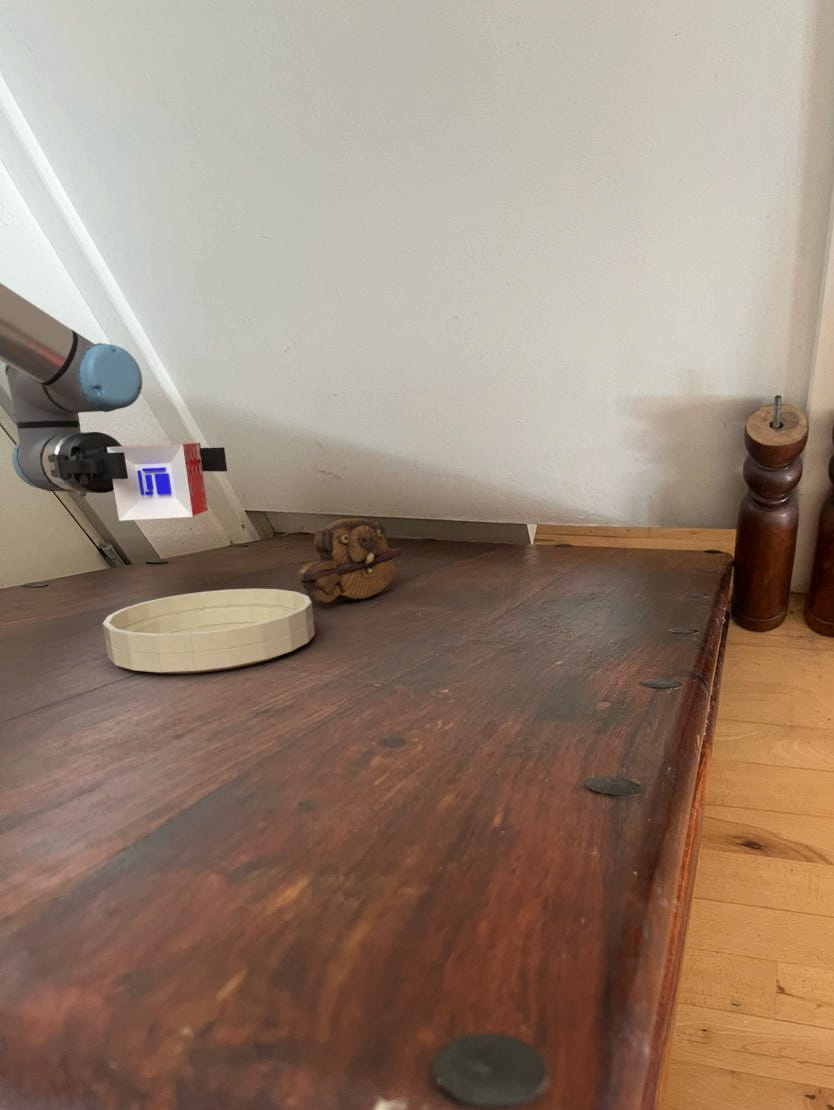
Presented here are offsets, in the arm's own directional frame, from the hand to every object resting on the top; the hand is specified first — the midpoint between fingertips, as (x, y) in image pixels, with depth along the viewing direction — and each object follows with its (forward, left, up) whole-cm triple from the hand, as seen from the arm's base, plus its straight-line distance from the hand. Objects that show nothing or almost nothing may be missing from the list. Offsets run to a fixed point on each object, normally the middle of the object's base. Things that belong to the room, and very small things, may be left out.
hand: (175, 462), depth 85 cm
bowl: (+7, -14, -18) cm, 23 cm away
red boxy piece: (-3, +3, -6) cm, 7 cm away
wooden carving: (+18, +6, -18) cm, 26 cm away
